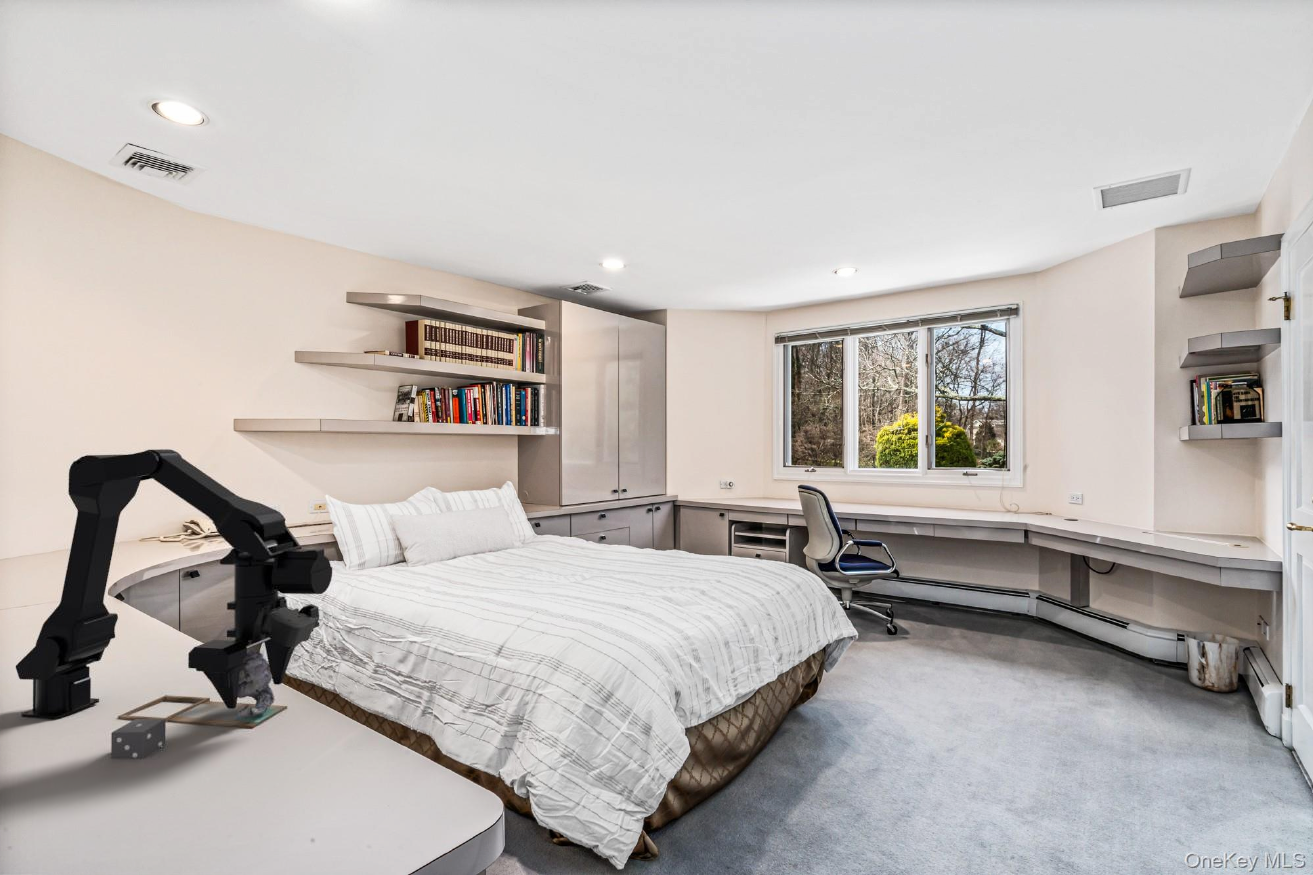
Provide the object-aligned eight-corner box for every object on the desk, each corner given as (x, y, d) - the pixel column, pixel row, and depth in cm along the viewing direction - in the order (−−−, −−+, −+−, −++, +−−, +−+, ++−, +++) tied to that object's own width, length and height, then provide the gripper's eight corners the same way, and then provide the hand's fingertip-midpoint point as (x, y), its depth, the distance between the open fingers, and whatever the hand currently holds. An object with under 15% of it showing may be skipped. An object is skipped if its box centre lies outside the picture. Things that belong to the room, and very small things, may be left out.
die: (109, 764, 82) (110, 731, 82) (135, 748, 87) (135, 717, 87) (143, 763, 82) (143, 731, 83) (166, 747, 87) (167, 717, 87)
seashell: (253, 724, 93) (253, 656, 93) (223, 721, 94) (222, 654, 94) (282, 709, 98) (281, 644, 98) (253, 707, 99) (252, 643, 99)
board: (163, 721, 94) (163, 719, 94) (202, 702, 101) (202, 700, 101) (253, 727, 92) (253, 725, 92) (287, 708, 99) (287, 706, 99)
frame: (117, 720, 95) (117, 716, 95) (165, 698, 103) (165, 695, 103) (165, 723, 94) (165, 719, 94) (209, 701, 102) (209, 697, 102)
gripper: (258, 611, 86) (257, 726, 86) (343, 581, 105) (342, 676, 105) (185, 608, 88) (184, 721, 87) (282, 579, 106) (281, 672, 106)
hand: (255, 695), depth 96 cm, fingers open, 9 cm apart
